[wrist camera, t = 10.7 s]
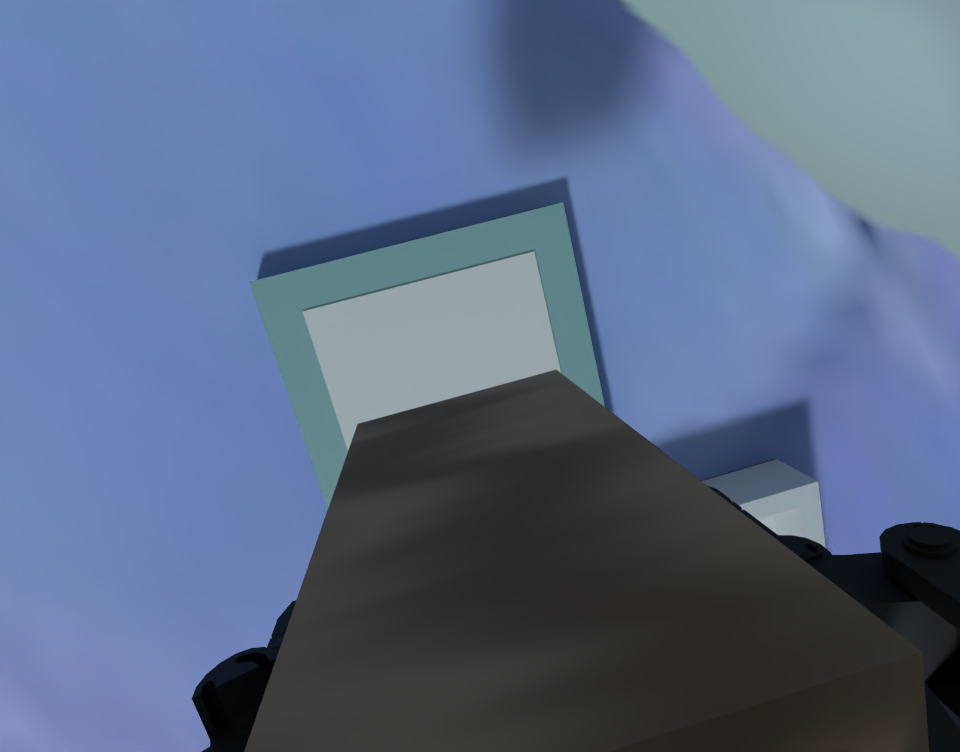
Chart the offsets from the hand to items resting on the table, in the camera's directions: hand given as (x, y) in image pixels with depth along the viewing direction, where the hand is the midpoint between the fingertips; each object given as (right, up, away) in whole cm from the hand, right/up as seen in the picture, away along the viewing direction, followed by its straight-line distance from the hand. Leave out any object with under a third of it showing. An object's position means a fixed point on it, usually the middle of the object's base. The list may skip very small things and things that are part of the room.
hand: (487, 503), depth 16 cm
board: (-2, +3, +15) cm, 15 cm away
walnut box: (0, 0, +1) cm, 1 cm away
